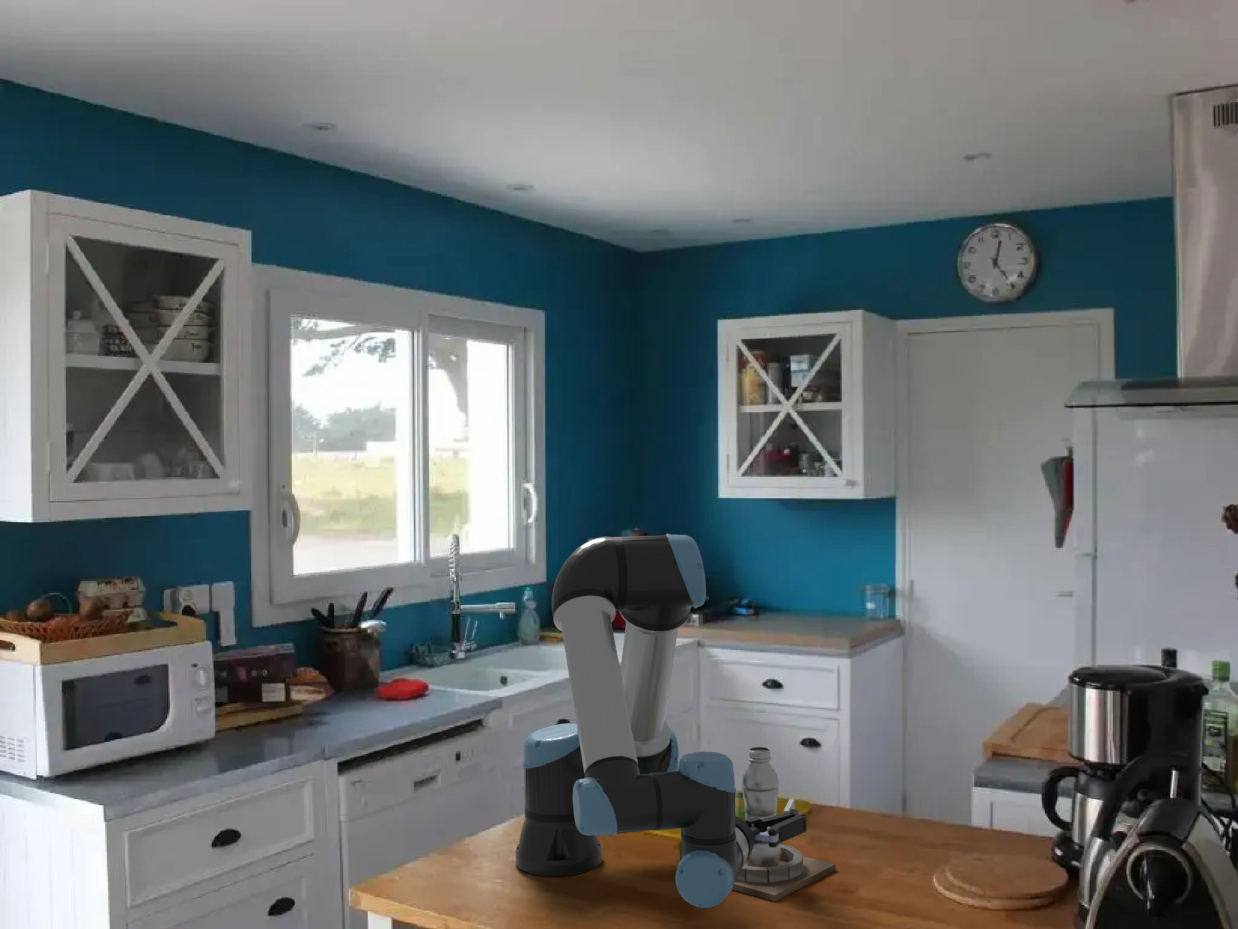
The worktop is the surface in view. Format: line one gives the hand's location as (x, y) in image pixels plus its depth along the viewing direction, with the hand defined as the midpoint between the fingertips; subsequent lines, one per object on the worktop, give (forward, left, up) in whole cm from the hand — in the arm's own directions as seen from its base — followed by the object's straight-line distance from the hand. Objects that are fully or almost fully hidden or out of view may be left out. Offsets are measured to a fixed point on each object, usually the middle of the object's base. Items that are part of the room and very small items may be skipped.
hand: (750, 804), depth 195 cm
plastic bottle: (-3, +8, -13) cm, 16 cm away
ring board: (-4, +8, -14) cm, 16 cm away
